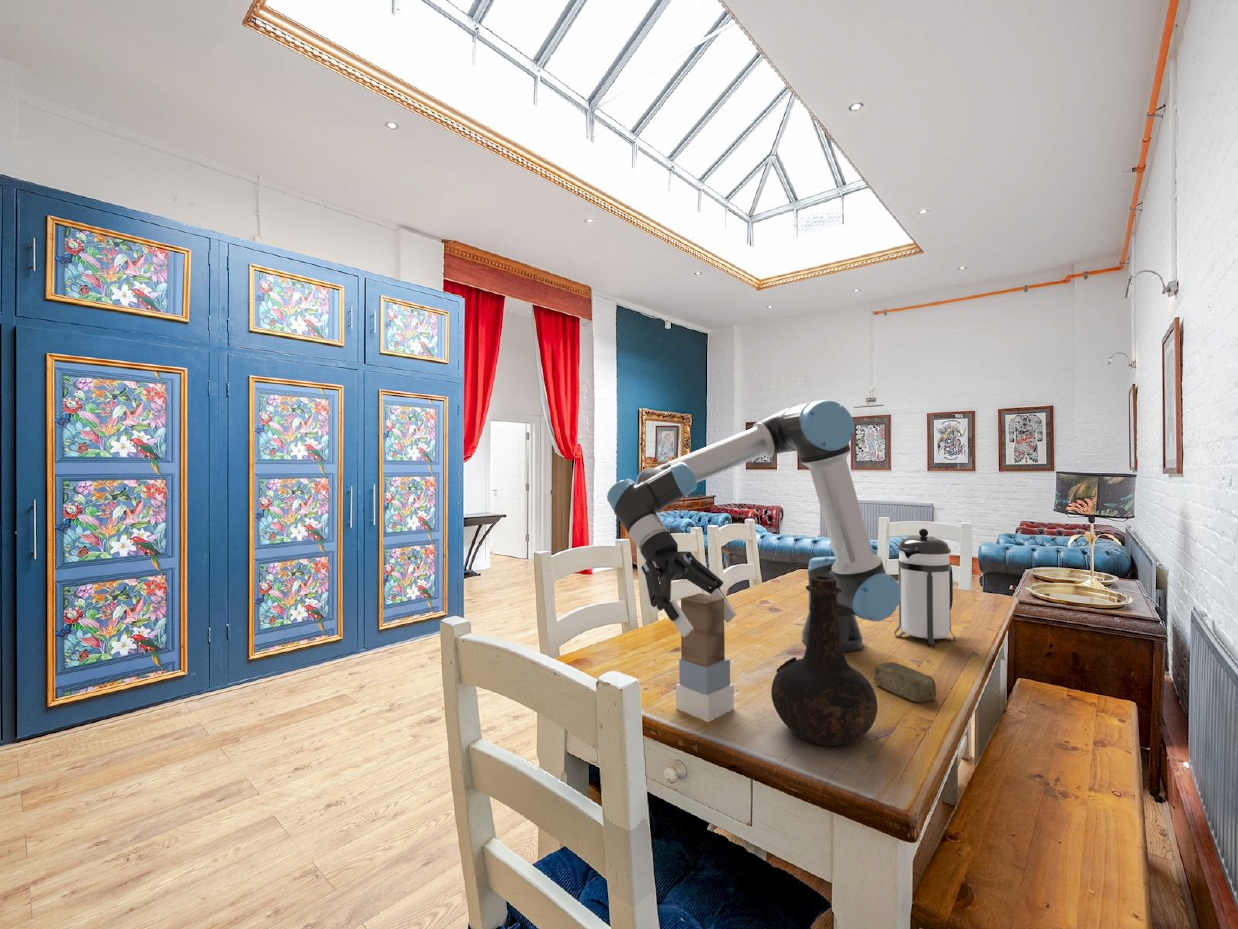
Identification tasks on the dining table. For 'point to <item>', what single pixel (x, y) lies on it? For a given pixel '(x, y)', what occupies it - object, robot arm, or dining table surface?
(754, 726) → the dining table surface
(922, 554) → the coffee press
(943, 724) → the dining table surface
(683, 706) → the tower base block
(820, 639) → the dark brown bulbous vessel
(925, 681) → the stone block
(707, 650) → the walnut block
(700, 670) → the tower top block
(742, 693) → the dining table surface
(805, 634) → the robot arm
